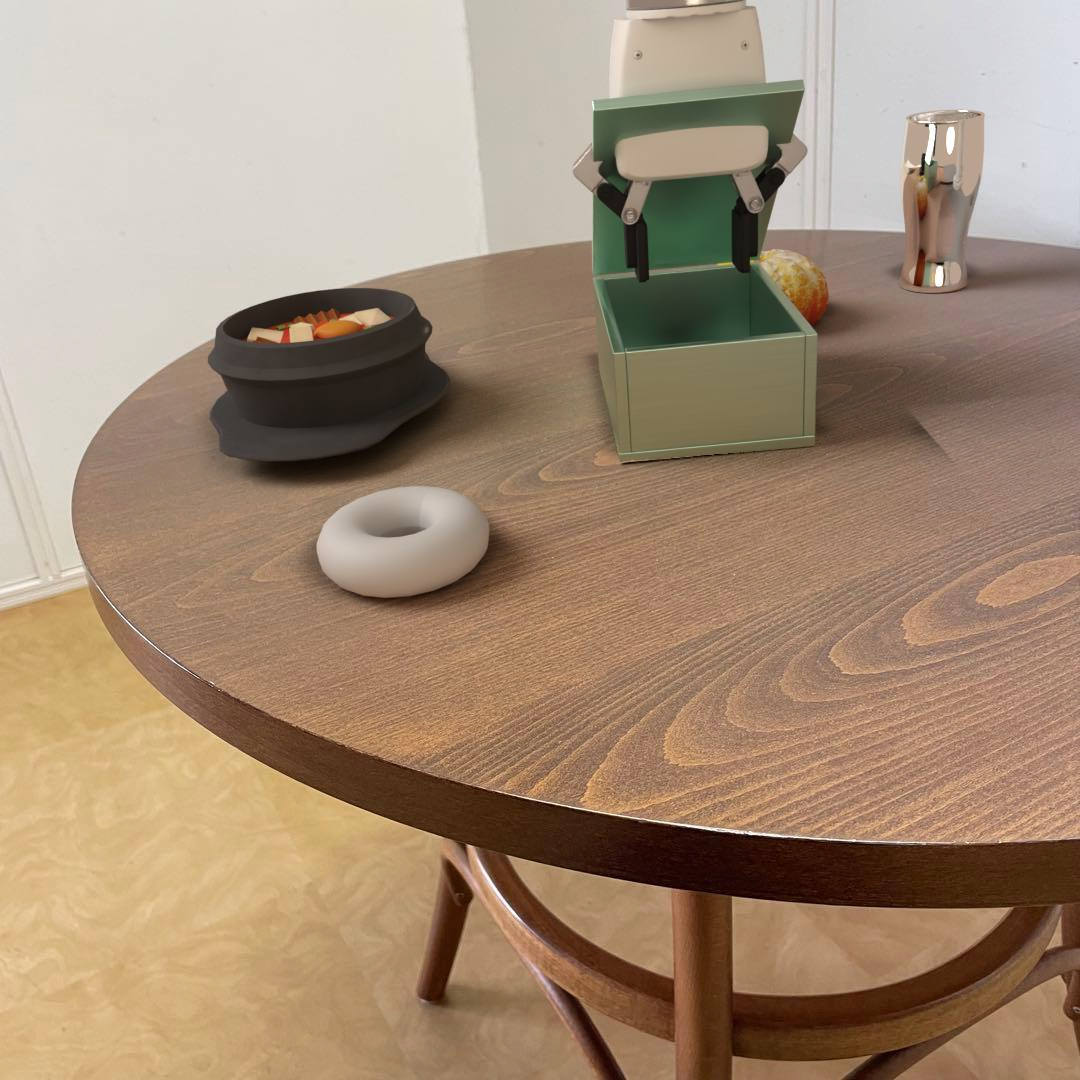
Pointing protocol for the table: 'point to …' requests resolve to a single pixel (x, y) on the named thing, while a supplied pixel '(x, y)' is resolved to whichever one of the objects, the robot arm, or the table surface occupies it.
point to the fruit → (797, 281)
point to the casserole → (321, 373)
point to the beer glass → (939, 196)
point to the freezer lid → (690, 203)
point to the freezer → (704, 363)
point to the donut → (403, 541)
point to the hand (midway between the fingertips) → (691, 270)
